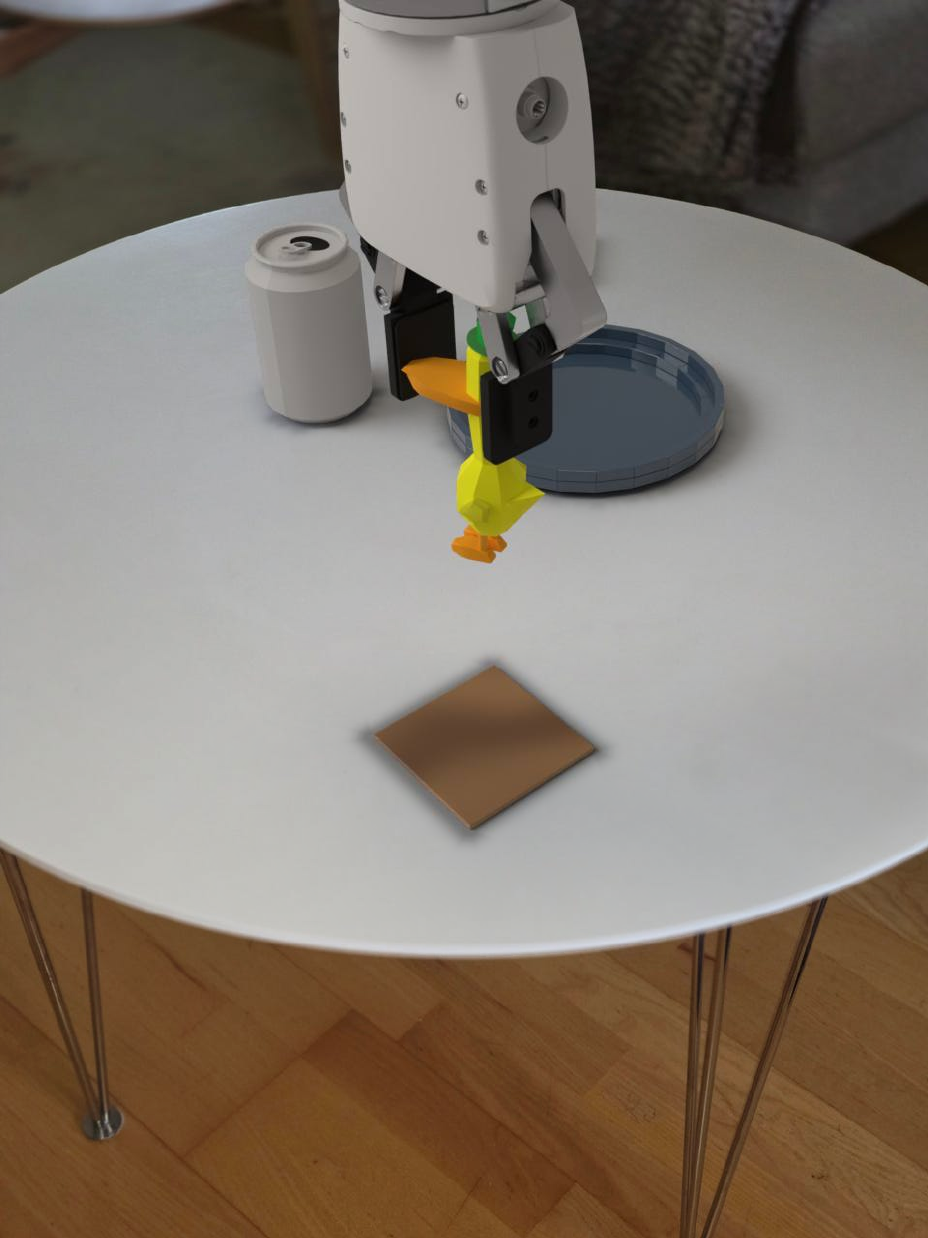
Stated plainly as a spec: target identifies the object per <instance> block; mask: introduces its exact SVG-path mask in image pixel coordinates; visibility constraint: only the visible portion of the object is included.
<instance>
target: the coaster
mask: <svg viewBox="0 0 928 1238" xmlns="http://www.w3.org/2000/svg"><path fill="white" fill-rule="evenodd" d="M373 739H374V740H375V741H376V742H377V743H378V744H379V745H380V746H381V747H382V748H383V749H385V751H387V753H388V754H389V755H391V756H392V757H393V758H394V759H395V760H396V761H397V762H398V763H399V764H400V765H401V766H402V767H403V768H404V769H405V770H406V771H407V772H408V773H410V774H411V776H413V777H414V779H415V780H417V781H418V782H419V783H420V784H421V785H422V786H423V787H424V788H425V789H426V790H427V791H428V792H430V794H432V795H433V796H434V797H435V798H436V799H437V800H438V801H439V802H440V803H441V804H442V805H443V806H444V807H445V808H446V809H447V810H448V811H449V812H450V813H451V814H452V815H453V816H454V817H456V818H457V819H458V820H459V821H460V822H461V823H462V824H463V825H464V826H465V827H466V828H467V829H468V830H470V831H471V830H473V829H475V828H476V827H478V826H479V825H481V824H482V823H484V822H486V821H487V820H489V819H490V818H492V817H494V816H495V815H496V814H498V813H500V812H501V811H503V810H504V809H506V808H508V807H509V806H510V805H512V804H514V803H515V802H517V801H518V800H520V799H522V798H523V797H524V796H526V795H528V794H529V793H531V792H533V791H534V790H536V789H537V788H539V787H540V786H542V785H543V784H545V783H546V782H548V781H550V780H552V778H554V777H556V776H557V775H559V774H560V773H562V772H564V771H565V770H567V769H568V768H570V767H572V766H573V765H575V764H577V762H579V761H580V760H583V759H584V758H585V757H587V756H589V755H590V754H592V753H593V752H595V746H594V745H593V744H591V743H590V742H589V741H587V740H586V739H585V738H584V737H583V736H582V735H580V734H579V733H578V732H576V730H574V729H573V728H572V727H571V726H570V725H568V724H567V723H565V722H564V721H563V720H562V719H561V718H560V717H558V716H557V715H556V714H555V713H554V712H552V711H551V710H550V709H549V708H548V707H546V706H545V704H543V703H541V702H540V701H539V700H538V699H537V698H535V697H534V696H533V695H532V694H531V693H529V692H528V691H527V690H526V689H524V688H523V687H522V686H521V685H520V684H518V683H517V682H516V681H515V680H514V679H512V678H511V677H510V676H509V675H507V674H506V673H504V672H503V670H501V669H500V668H499V667H497V666H496V665H494V664H493V665H492V666H489V667H488V668H486V669H484V670H483V671H481V672H479V673H478V674H476V675H474V676H473V677H470V678H469V679H467V680H466V681H463V682H462V683H460V684H458V685H457V686H455V687H453V688H452V689H450V690H448V691H446V692H444V693H443V694H441V695H439V696H438V697H436V698H434V699H433V700H431V701H429V702H427V703H425V704H424V705H422V706H420V707H418V708H417V709H415V710H413V711H412V712H410V713H408V714H407V715H405V716H403V717H401V718H400V719H398V720H396V721H394V722H393V723H391V724H389V725H387V726H386V727H384V728H383V729H381V730H379V731H377V732H375V733H373Z"/></svg>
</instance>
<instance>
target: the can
mask: <svg viewBox="0 0 928 1238" xmlns="http://www.w3.org/2000/svg"><path fill="white" fill-rule="evenodd" d="M250 250H251V254H252V255H251V256H250V257H249V259H248V260H247V261H246V264H245V267H244V268H243V269H244V275H245V281H246V288H247V294H248V301H249V307H250V313H251V318H252V326H253V331H254V338H255V343H256V344H255V345H256V349H257V356H258V363H259V368H260V374H261V382H262V387H263V394H264V398H265V403H266V404H267V405H268V406H269V408H271V410H273V411H274V412H276V413H277V414H280V415H281V416H283V417H285V418H287V419H289V420H291V421H294V422H298V423H302V424H303V423H304V424H324V423H330V422H335V421H338V420H340V419H341V420H342V419H344V418H346V417H348V416H349V415H351V414H353V413H354V412H356V411H357V410H358V409H359V408H360V407H361V406H363V405H364V404H365V403H366V401H367V400H368V399H369V398H370V397H371V395H372V392H373V388H374V385H373V384H374V382H373V374H372V372H373V371H372V364H371V352H370V342H369V333H368V322H367V313H366V304H365V303H366V302H365V294H364V293H365V292H364V284H363V283H364V282H363V273H362V272H363V271H362V263H361V259H360V256H359V254H358V252H357V251H356V250H355V249H354V248H353V247H351V245H349V238H348V235H347V233H345V232H344V231H343V230H342V229H341V228H340V227H337V226H334V225H332V224H329V223H324V222H317V221H298V222H291V223H285V224H281V225H278V226H275V227H271V228H270V229H268V230H266V231H264V232H262V233H261V234H259V235H258V236H257V237H256V238H255V239H254V240H253V242H252V243H251V246H250Z"/></svg>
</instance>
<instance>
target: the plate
mask: <svg viewBox="0 0 928 1238" xmlns="http://www.w3.org/2000/svg"><path fill="white" fill-rule="evenodd" d="M526 331H527V330H525V331H522V332H518V333H516V334H517V335H518V337H520V336H521V335H522V334H523V333H524V332H526ZM464 362H466V360H464ZM725 403H726V401H725V386H724V384H723V382H722V380H721V379H720V376H719V375H718V373H717V371H716V370H715V368H714V366H713V365H711V364H710V363H709V362H708V361H706V359H705V358H703V356H701V355H700V354H698V353H697V351H695V350H693V349H691V348H690V347H687V346H685V345H684V344H681V343H680V342H678V341H676V340H674V339H673V338H671V337H667V336H664V335H660V334H658V333H654V332H650V331H649V330H644V329H641V328H635V327H629V326H622V325H617V324H616V325H615V324H608V323H606V324H605V325H604V326H603V327H602V328H600V329H598V330H597V331H595V332H594V333H592V334H590V335H589V336H587V337H585V338H584V339H582V340H580V341H579V342H578V343H577V344H576V345H574V346H573V347H572V348H570V349H569V350H568V351H566V352H565V353H564V355H563V357H562V358H561V359H559V360H557V361H555V362H553V431H552V435H551V437H550V438H549V439H548V440H547V441H546V442H544V443H542V444H540V445H538V446H536V447H534V448H532V449H530V450H528V451H526V452H524V453H522V454H520V455H518V456H516V457H514V458H515V459H517V460H518V461H520V462H521V463H523V464H524V465H526V466H527V467H526V482H527V483H529V484H531V485H532V486H534V487H535V488H537V489H543V490H544V489H545V490H549V491H553V492H561V493H562V492H563V493H565V492H566V493H586V494H587V493H590V494H596V493H597V494H599V493H607V492H615V491H623V490H624V491H625V490H632V489H636V488H639V487H643V486H647V485H648V484H653V483H656V482H660V481H662V480H663V481H664V480H667V479H668V478H670V477H672V476H674V475H677V474H678V473H680V472H682V471H684V470H685V469H687V468H690V467H691V466H694V465H695V464H696V463H697V462H698V461H700V460H701V459H702V458H703V457H704V456H705V455H706V454H707V453H708V452H709V451H710V450H711V449H712V448H713V447H714V446H715V444H716V442H717V439H718V437H719V435H720V433H721V431H722V428H723V426H724V418H725V417H724V416H725V408H726V404H725ZM446 417H447V418H446V419H447V423H448V426H449V431H450V434H451V435H450V436H451V438H452V439H453V441H455V443H456V444H457V446H458V447H459V448H460V449H461V451H462V452H463V453H464V454H465V455H466V457H467V458H469V457H470V456H471V455H472V454H473V453H474V452H473V445H472V438H471V432H470V425H469V419H468V413H465V412H462V411H459V410H457V409H454V408H451V407H449V406H446Z"/></svg>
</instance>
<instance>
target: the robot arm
mask: <svg viewBox="0 0 928 1238" xmlns="http://www.w3.org/2000/svg"><path fill="white" fill-rule="evenodd" d="M338 8H339V17H338V18H339V19H338V21H339V22H338V93H339V95H338V97H339V119H340V120H339V121H340V135H341V136H340V140H341V152H342V161H343V162H342V163H343V172H344V173H343V174H344V180H343V182H342V184H341V186H340V187H339V190H338V197H339V201H340V203H341V206H342V208H343V210H344V211H345V213H346V215H347V216H348V218H349V220H350V222H351V223H352V226H353V227H354V230H355V231H356V232H357V234H358V236H359V244H360V245H359V247H360V250H361V252H362V254H364V256H365V258H366V260H367V262H368V264H369V266H370V267H371V270H372V271H373V274H374V280H373V287H372V293H373V297H374V300H375V302H376V304H377V305H378V307H379V309H381V310H382V311H386V312H387V311H389V313H386V314H384V315H383V324H384V335H385V347H386V348H385V349H386V356H387V358H386V359H387V369H388V379H389V391H390V394H391V396H393V398H396V399H397V400H398V401H400V402H406V401H409V400H411V399H413V398H415V397H418V396H421V395H420V394H419V393H418V392H417V391H416V390H415V389H414V388H413V387H412V384H411V382H410V380H409V378H408V376H407V374H406V373H405V372H403V371H402V370H401V369H402V368H404V367H405V366H406V365H407V364H408V363H409V362H410V361H412V360H418V359H424V358H431V357H438V358H447V359H455V360H458V358H457V337H456V321H455V319H456V317H455V305H454V295H455V296H456V297H458V298H460V299H462V300H464V301H465V302H468V303H470V304H472V305H473V306H474V308H475V312H476V315H477V316H478V320H479V324H480V328H481V332H482V336H483V340H484V344H485V348H486V352H487V356H488V360H489V364H490V368H491V371H489V372H486V373H485V374H483V375H481V376H480V398H481V423H482V447H483V455H484V458H485V459H486V460H488V461H489V462H491V463H492V464H494V465H499V464H501V463H503V462H505V461H507V460H509V459H511V458H514V457H516V456H518V455H520V454H522V453H524V452H526V451H528V450H530V449H532V448H534V447H536V446H538V445H540V444H542V443H544V442H546V441H547V440H548V439H549V438H550V437H551V435H552V431H553V362H555V361H557V360H559V359H561V358H562V357H563V355H564V353H565V352H566V351H568V350H569V349H570V348H572V347H573V346H574V345H576V344H577V343H578V342H579V341H580V340H582V339H584V338H585V337H587V336H589V335H590V334H592V333H594V332H595V331H597V330H598V329H600V328H602V327H603V326H604V325H605V324H608V313H607V310H606V307H605V305H604V303H603V301H602V299H601V296H600V293H599V292H598V290H597V288H596V286H595V284H594V282H593V280H592V277H591V276H592V274H593V272H594V268H595V263H596V256H597V255H596V253H597V191H596V167H595V166H596V165H595V164H596V163H595V145H594V131H593V120H592V119H593V118H592V108H591V107H592V106H591V99H590V91H589V82H588V74H587V68H586V62H585V61H586V60H585V55H584V50H583V43H582V39H581V34H580V29H579V24H578V20H577V19H578V18H577V15H576V10H575V7H573V6H571V5H570V4H568V3H566V2H564V1H562V0H338ZM521 281H522V282H521ZM518 282H519V283H518ZM516 283H517V284H516ZM441 289H444V290H442V291H439V290H441ZM438 291H439V292H438ZM522 307H525V311H526V316H527V320H528V325H529V328H528V329H526V330H525V331H526V332H525V331H523V332H524V333H523V334H522V335H521V336H520V337H518V338H517V339H516V340H515V341H514V340H513V336H512V332H511V327H510V323H509V319H508V315H507V313H508V312H510V313H511V312H512V311H514V310H517V309H519V308H522ZM477 316H476V317H477Z"/></svg>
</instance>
